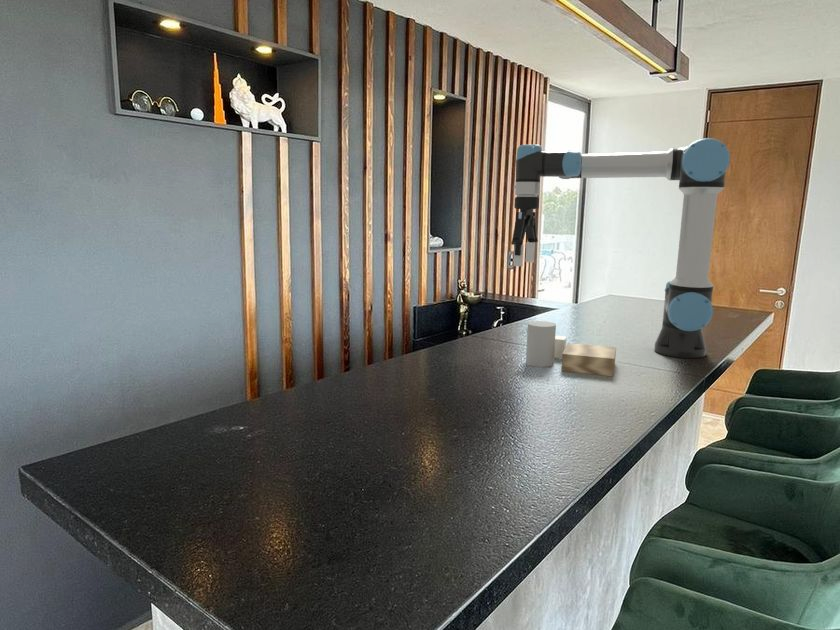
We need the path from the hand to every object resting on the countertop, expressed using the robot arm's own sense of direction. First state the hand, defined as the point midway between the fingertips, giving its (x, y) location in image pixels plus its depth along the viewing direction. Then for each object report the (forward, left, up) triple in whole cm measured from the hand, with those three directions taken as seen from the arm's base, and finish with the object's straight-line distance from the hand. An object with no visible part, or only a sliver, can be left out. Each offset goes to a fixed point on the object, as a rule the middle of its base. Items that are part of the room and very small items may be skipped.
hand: (524, 264), depth 185 cm
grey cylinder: (-9, +16, -28) cm, 33 cm away
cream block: (-12, +5, -28) cm, 31 cm away
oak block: (-23, +15, -28) cm, 39 cm away
